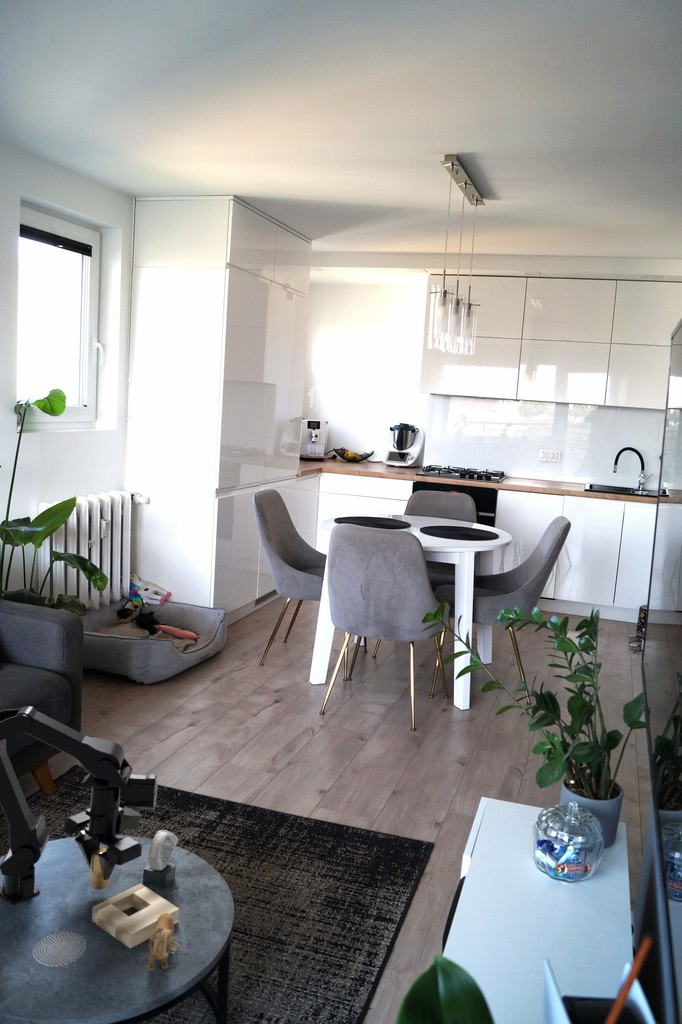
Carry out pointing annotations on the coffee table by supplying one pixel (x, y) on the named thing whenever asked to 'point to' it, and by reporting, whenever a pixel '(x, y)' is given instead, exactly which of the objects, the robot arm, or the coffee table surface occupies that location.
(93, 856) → the brass cylinder plug
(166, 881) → the watch
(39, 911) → the coffee table surface
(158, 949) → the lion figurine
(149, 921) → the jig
